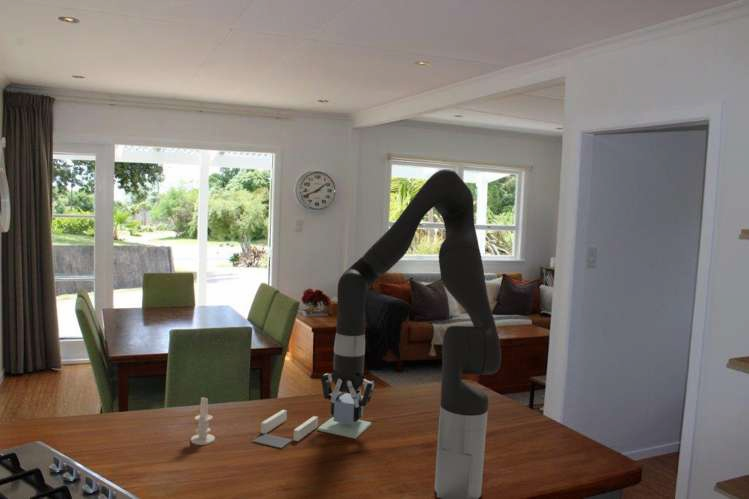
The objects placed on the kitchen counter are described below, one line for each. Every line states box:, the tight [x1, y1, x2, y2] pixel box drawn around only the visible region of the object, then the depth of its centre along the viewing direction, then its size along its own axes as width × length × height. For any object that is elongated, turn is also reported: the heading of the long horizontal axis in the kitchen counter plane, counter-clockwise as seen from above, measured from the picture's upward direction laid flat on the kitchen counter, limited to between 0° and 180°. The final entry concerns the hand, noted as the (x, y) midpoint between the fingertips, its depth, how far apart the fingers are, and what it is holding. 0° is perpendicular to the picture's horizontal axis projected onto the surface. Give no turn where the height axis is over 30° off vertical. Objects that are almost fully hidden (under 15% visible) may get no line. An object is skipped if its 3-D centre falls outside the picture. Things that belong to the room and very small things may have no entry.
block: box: [333, 392, 364, 425], centre depth 152 cm, size 7×5×5 cm
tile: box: [317, 416, 372, 440], centre depth 150 cm, size 10×10×1 cm
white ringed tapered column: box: [190, 395, 216, 446], centre depth 137 cm, size 5×5×10 cm
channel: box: [252, 409, 319, 450], centre depth 144 cm, size 16×10×2 cm, turn 159°
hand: (345, 418), depth 150 cm, fingers closed on block, 5 cm apart
